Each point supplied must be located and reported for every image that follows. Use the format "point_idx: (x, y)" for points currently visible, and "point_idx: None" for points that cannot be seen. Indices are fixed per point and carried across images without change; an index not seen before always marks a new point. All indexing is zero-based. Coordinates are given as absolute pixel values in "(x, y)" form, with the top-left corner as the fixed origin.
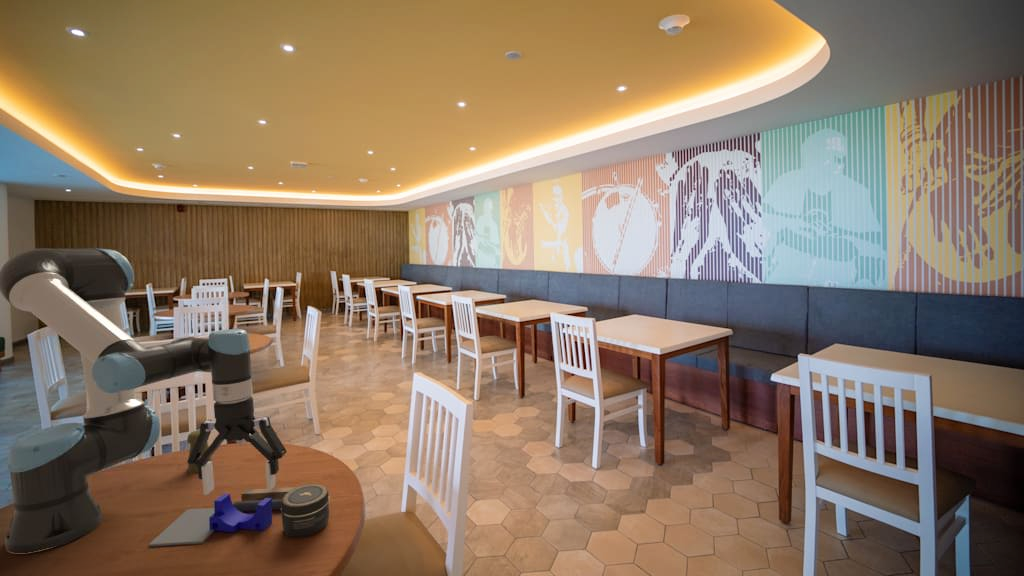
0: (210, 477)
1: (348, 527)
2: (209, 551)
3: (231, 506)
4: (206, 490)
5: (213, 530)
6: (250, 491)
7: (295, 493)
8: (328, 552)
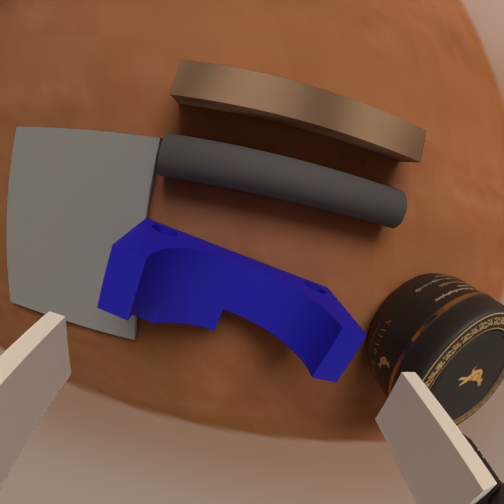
0: (26, 391)
1: None
2: (174, 376)
3: (170, 259)
4: (59, 389)
5: None
6: (209, 81)
7: (452, 374)
8: None
